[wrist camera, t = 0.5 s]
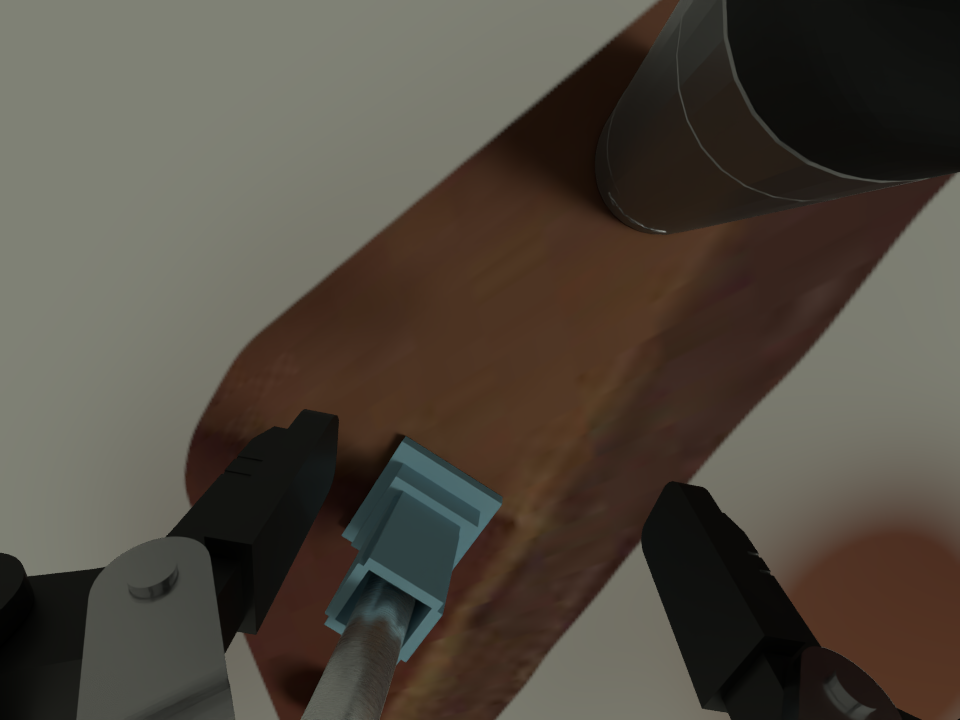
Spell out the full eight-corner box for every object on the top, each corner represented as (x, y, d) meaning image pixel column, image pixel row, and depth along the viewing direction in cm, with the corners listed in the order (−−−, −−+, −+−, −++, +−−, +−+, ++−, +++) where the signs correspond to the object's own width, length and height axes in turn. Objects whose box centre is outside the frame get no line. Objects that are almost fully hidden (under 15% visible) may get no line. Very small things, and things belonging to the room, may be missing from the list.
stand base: (405, 435, 32) (356, 509, 22) (502, 497, 32) (495, 595, 23) (345, 529, 34) (277, 633, 25) (436, 585, 35) (404, 708, 25)
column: (405, 472, 31) (53, 1109, 8) (471, 514, 32) (329, 1254, 8) (368, 529, 33) (-28, 1215, 9) (431, 568, 33) (210, 1336, 9)
